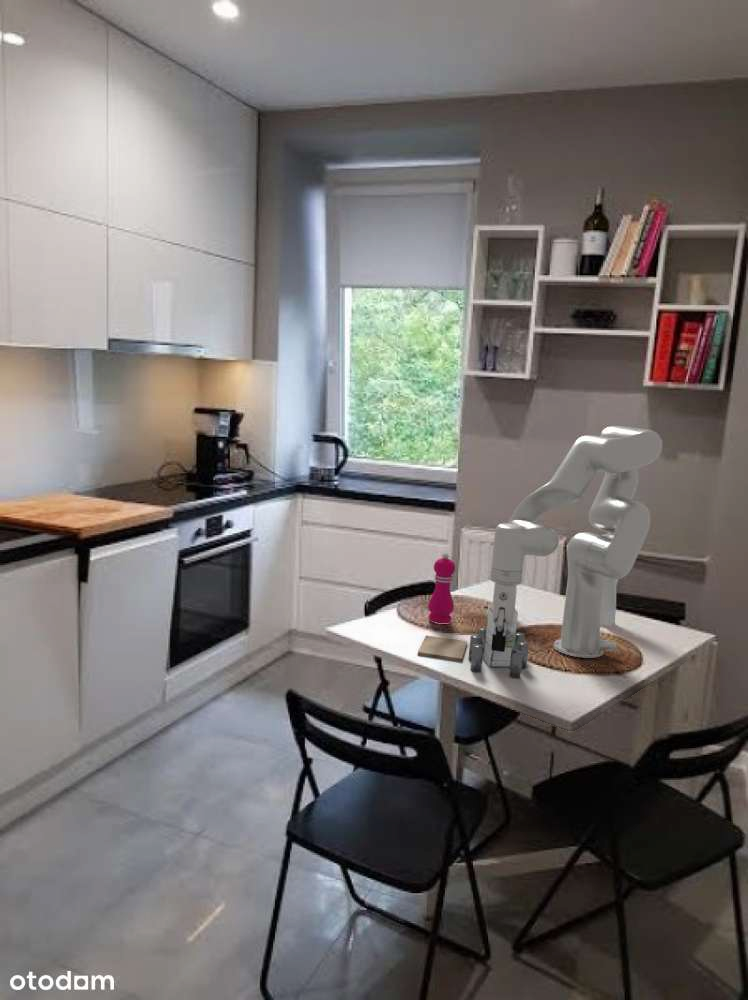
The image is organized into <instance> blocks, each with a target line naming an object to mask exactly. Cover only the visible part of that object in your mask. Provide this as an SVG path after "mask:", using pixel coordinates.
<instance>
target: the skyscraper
mask: <svg viewBox="0 0 748 1000" xmlns="http://www.w3.org/2000/svg"><path fill="white" fill-rule="evenodd" d="M601 536H605V537H607V538H610V539H612V538H613V536H614V534H611V533H608V532H606V534H601ZM603 578H604V583H605V594H604V600H603V608H602V616H601V624H600V627H601V626H602V627H605V628H608V627H609V626H612V625H614V624H616V613H617V612H616V611H617V584H618V582H619V579H611V578H608V577H605V576H603Z"/></svg>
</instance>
